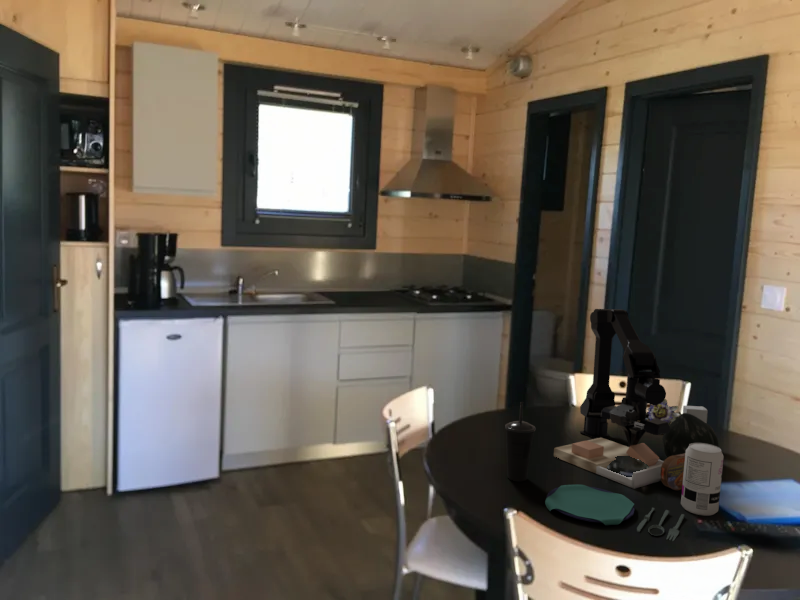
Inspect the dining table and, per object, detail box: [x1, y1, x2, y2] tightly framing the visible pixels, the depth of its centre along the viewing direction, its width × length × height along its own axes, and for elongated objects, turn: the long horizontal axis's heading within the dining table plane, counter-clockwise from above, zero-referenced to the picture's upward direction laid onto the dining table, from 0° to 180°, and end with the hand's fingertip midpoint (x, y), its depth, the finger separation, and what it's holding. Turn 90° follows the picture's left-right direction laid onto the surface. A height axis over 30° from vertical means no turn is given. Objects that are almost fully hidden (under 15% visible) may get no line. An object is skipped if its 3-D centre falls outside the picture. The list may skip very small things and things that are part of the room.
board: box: [553, 437, 629, 474], centre depth 201 cm, size 15×20×2 cm
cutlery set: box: [544, 484, 685, 542], centre depth 163 cm, size 20×30×2 cm, turn 58°
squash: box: [662, 412, 720, 458], centre depth 200 cm, size 14×15×15 cm
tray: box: [595, 459, 665, 490], centre depth 190 cm, size 12×20×4 cm, turn 125°
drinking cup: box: [504, 401, 536, 482], centre depth 182 cm, size 8×8×20 cm
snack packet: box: [660, 453, 685, 491], centre depth 182 cm, size 15×3×8 cm, turn 117°
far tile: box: [626, 442, 660, 466], centre depth 196 cm, size 6×6×2 cm
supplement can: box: [680, 443, 725, 516], centre depth 167 cm, size 8×8×15 cm
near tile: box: [571, 440, 604, 459], centre depth 197 cm, size 6×6×2 cm
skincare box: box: [682, 405, 708, 424], centre depth 215 cm, size 6×4×12 cm
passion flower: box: [646, 398, 682, 425], centre depth 231 cm, size 11×11×12 cm
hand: (631, 449), depth 198 cm, fingers closed
